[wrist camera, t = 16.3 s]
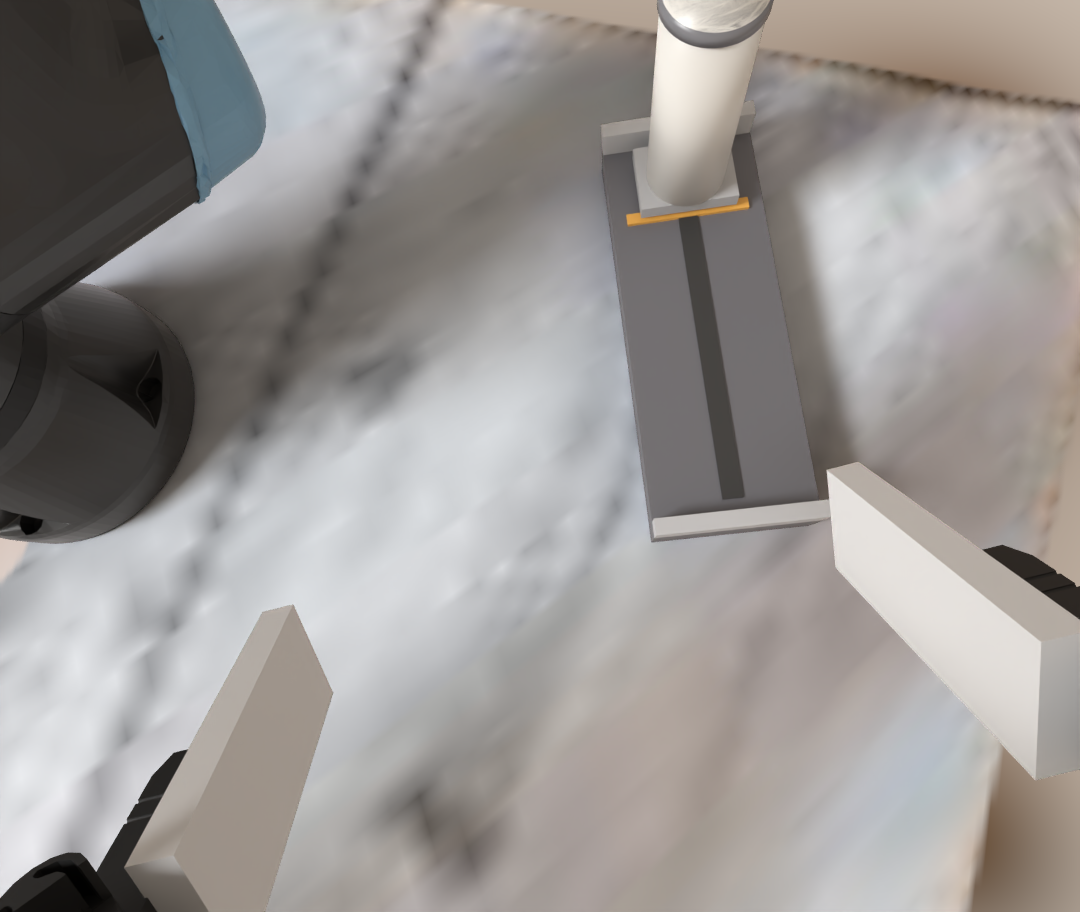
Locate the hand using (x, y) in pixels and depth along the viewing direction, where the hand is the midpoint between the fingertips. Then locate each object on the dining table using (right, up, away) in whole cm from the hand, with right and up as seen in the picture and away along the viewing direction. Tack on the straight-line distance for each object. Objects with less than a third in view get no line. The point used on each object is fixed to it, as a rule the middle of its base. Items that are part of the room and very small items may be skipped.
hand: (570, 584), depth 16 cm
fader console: (+8, +10, +21) cm, 24 cm away
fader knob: (+7, +18, +20) cm, 27 cm away
